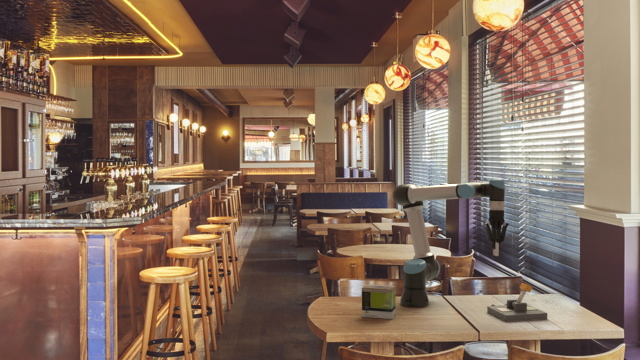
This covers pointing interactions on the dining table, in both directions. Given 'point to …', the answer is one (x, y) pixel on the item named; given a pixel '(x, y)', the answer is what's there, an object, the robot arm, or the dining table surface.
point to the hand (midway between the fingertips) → (495, 255)
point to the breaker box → (516, 312)
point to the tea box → (378, 301)
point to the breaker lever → (522, 292)
